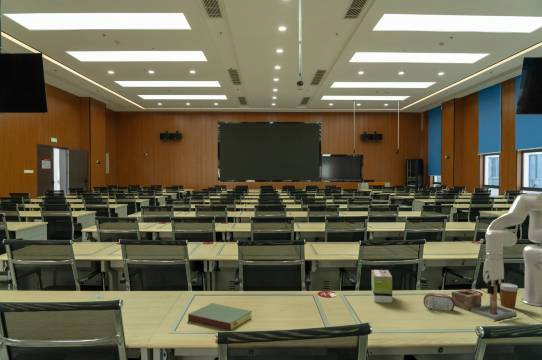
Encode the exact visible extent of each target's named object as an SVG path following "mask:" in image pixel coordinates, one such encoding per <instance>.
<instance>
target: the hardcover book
mask: <svg viewBox="0 0 542 360" xmlns="http://www.w3.org/2000/svg"><path fill="white" fill-rule="evenodd" d="M252 312H253V310H249V309H243V308H239V307H233V306H230V305H229V306H228V305H224V304H219V303H213V302H212V303H210V304H206V305H205V306H202V307H200V308H198V309H196V310H194V311H192V312H190V313H188V314H187V320H188V321H189V322H192V323H195V324H196V323H197V324H201V325H205V326H209V327H214V328H218V329H222V330H226V329H227V330H228V331H232V330H234V329H235V328H237V327H238V326H240V325H241V323H242V324H243V323H245V322H246V321H248V320H250V319H252ZM227 330H226V331H227Z"/></svg>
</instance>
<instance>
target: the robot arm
mask: <svg viewBox="0 0 542 360" xmlns="http://www.w3.org/2000/svg"><path fill="white" fill-rule="evenodd" d="M528 215H529V224H528V231H527V232H528V240H529V241H530V242H532V243H536V244H538V245H536V244H527V245H526V246H524V248H523V249H522V256H523V261H524V297H522V298H521V299H520V301H521V303H524V304H525V305H530V306H536V307H542V193H533V192H530V193H523V194H522V193H521V194H518V195H517V196H516V198H515V199H514V200H513V202H512V204H511V206H510V207H509V209H508V211H507V212H506V213H505V214H502V215H500V216H499V217H498V218H496V219H494V220H493V221H492V222H491V223H490V224H489V226H488V227H487V229H486V232H485V235H484V237H485V259H484V263H483V269H482V278H483V282H485V284H486V287H487V290H486V291H487V294H489V295H490V294H494V286H493V285H497V294H499V293H500V285H501V283H503V282H502V281H503V280H504V279H505V267H504V266H505V265H504V247H512V246H514V245H516V244H517V242H518V236H517V235H516V233H515V232H513V231H509V230H504V229H505V228H509V227H513V226H514V227H515V226H517V225H520V224H523V223H524V222H525V220H526V218H527V216H528ZM539 244H541V245H539Z"/></svg>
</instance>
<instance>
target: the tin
mask: <svg viewBox="0 0 542 360" xmlns="http://www.w3.org/2000/svg"><path fill="white" fill-rule="evenodd" d="M423 305H424V307H425V308H426V309H428V310H430V311H433V310H442V311H448V312H449V311H450V312H452V311H453V310H454V309H455V307H456V306H455V302H454V300H453V298H452V296H451V295H447V294H441V293H440V294H439V293H434V292H431V293H426V294H425V295H424V297H423Z"/></svg>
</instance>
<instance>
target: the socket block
mask: <svg viewBox="0 0 542 360" xmlns="http://www.w3.org/2000/svg"><path fill="white" fill-rule="evenodd" d="M451 297H452V298H453V300H454V302H455V306H454V307H457V308H459V309H462V310H464V311H468V312H469V311H471V308H476V307H481V306H482V294H481V293H477V292H475V291H471V290H468V289H461V290H455V291H451Z"/></svg>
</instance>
